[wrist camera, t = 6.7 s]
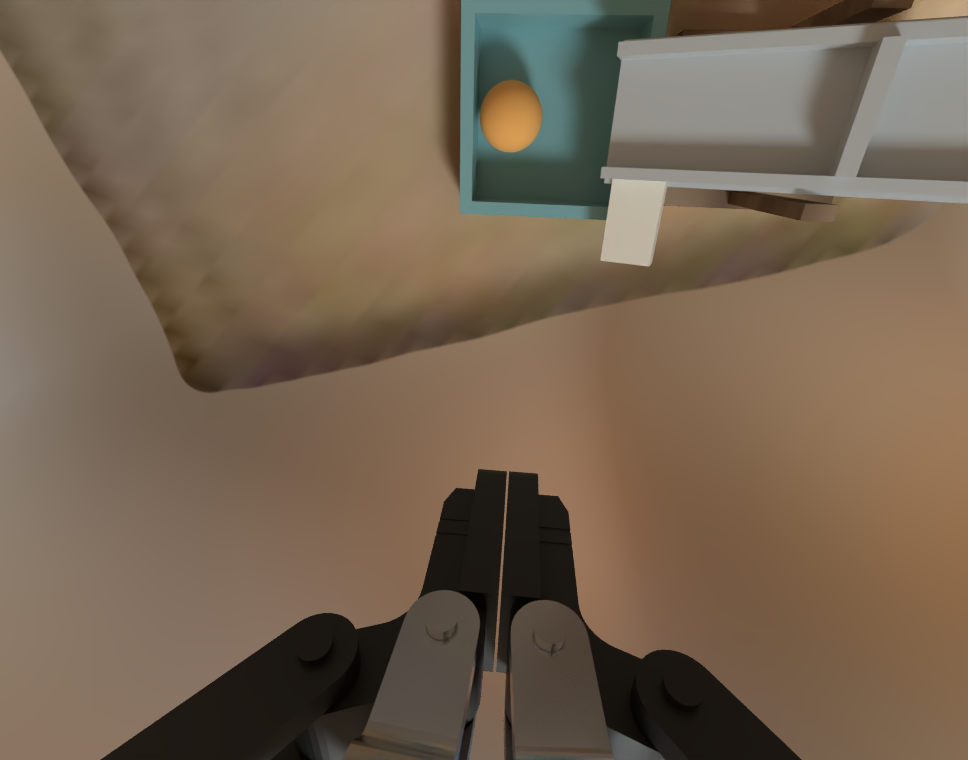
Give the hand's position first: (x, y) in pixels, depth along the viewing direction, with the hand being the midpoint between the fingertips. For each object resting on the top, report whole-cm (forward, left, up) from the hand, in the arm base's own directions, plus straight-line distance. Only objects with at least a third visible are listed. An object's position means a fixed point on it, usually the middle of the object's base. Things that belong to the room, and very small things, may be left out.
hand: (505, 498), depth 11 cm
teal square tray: (-10, +1, -27) cm, 29 cm away
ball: (-10, -1, -24) cm, 26 cm away
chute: (-8, +15, -25) cm, 31 cm away
